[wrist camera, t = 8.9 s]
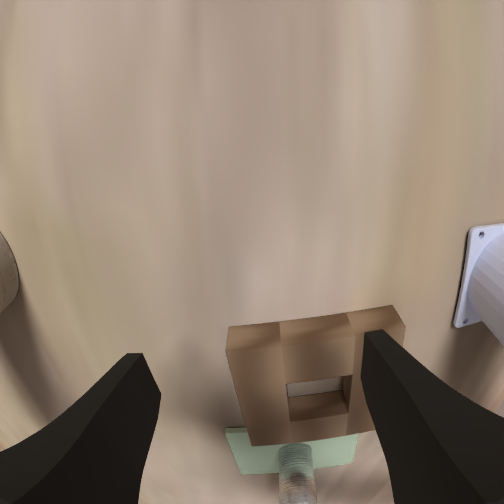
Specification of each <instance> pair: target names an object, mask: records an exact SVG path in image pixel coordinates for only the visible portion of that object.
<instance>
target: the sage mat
mask: <svg viewBox="0 0 504 504" xmlns="http://www.w3.org/2000/svg"><path fill="white" fill-rule="evenodd" d="M358 434H359V433H357V434H352V435H347V436H341V437H335V438H329V439H323V440H316V441H308V442H300V443H304V444H307V445H309V446H310V447H311V448H312V457H313V467H314V469H318V468H324V467H331V466H337V465H343V464H348V463H352V462H353V458H354V453H355V448H356V444H357V439H358ZM225 435H226V438H227V440H228V443H229V445H230V448H231V450H232V453H233V455H234V457H235V460H236V462H237V465H238V467H239V469H240V472H241V474H242V475H247V474H268V473H279V464H278V450H279V449H280V448H281V447H282V446H284V445H287V444H281V445H268V446H252V445H251V442H250V439H249V435H248V432H247V429H246V427H240V428H225Z"/></svg>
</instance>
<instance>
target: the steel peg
mask: <svg viewBox="0 0 504 504" xmlns="http://www.w3.org/2000/svg"><path fill="white" fill-rule="evenodd" d="M278 464H279V504H317V496H316V486H315V476H314V467H313V457H312V448H311V447H310V446H309V445H307V444H304V443H291V444H287V445H284V446H282V447H281V448H280V449H279V450H278Z"/></svg>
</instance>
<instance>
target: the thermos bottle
mask: <svg viewBox="0 0 504 504" xmlns="http://www.w3.org/2000/svg"><path fill="white" fill-rule="evenodd" d="M18 286H19V279H18V271H17V266H16V263H15V259H14V257H13V254H12V252H11V249H10V247H9V245H8V244H7V242H6V240H5V238H4V237H3V236H2V234H1V233H0V313H1V312H2V311H3V310H4V309H5V308H6V307H7V306H8V305H9V304H11V303H12V302H13V300H14V299H15V297H16V295H17V292H18Z"/></svg>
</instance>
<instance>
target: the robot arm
mask: <svg viewBox="0 0 504 504" xmlns="http://www.w3.org/2000/svg"><path fill="white" fill-rule="evenodd" d="M480 232H481V235H480V236H479V234H480ZM481 321H483V323H484V324H485V325H486V326H487V327H488V328H489V330H490V331H491V332H492V333H493V334H494V336H495V337H496V338H497V339H498V340H499V342H500V343H501V344H502V345H503V347H504V223H501V224H493V225H486V226H478V227H473V228H472V229H471V230H470V231H469V234H468V243H467V251H466V258H465V265H464V271H463V277H462V283H461V289H460V294H459V299H458V304H457V308H456V313H455V317H454V321H453V324H454V326H455V327H456V328H460V327H463V326H467V325H470V324H474V323H477V322H481ZM360 378H361V382H362V387H363V391H364V395H365V400H366V404H367V407H368V409H369V412H370V415H371V418H372V421H373V423H374V426H375V429H376V432H377V435H378V438H379V440H380V443H381V446H382V449H383V452H384V455H385V458H386V462H387V465H388V470H389V475H390V480H391V485H392V491H393V497H394V503H395V504H504V418H503V417H501V416H499V415H497V414H495V413H493V412H491V411H489V410H487V409H485V408H483V407H481V406H479V405H478V404H476V403H474V402H473V401H471V400H469V399H468V398H466V397H465V396H463V395H461V394H460V393H458V392H457V391H455V390H454V389H453V388H451V387H450V386H448V385H447V384H446V383H444V382H443V381H442V380H440V379H439V378H438V377H436V376H435V375H434V374H433V373H432V372H430V371H429V370H428V369H427V368H426V367H424V366H423V365H422V364H421V363H420V362H419V361H417V360H416V359H415V358H414V357H413V356H412V355H411V354H409V353H408V352H407V351H406V350H405V349H404V348H403V347H402V346H401V345H400V344H399V343H397V342H396V341H395V340H394V339H393V338H392V337H391V336H390V335H389V334H388V333H387V332H385V331H384V330H383V329H380V330H374V331H369V332H364V345H363V356H362V366H361V375H360ZM160 400H161V392H160V390H159V388H158V386H157V384H156V382H155V380H154V378H153V376H152V373H151V371H150V369H149V367H148V365H147V362H146V360H145V358H144V356H143V353H127V354H126V355H125V356H123V357H122V358H121V359H120V360H119V361H118V362H117V363H116V364H115V365H114V366H113V367H112V368H111V369H110V370H109V371H108V372H107V373H106V374H105V375H104V376H103V377H102V378H101V379H100V380H99V381H97V382H96V383H95V384H94V385H93V386H92V387H91V388H90V389H89V390H88V391H87V392H86V393H85V394H84V395H83V396H82V397H81V398H80V399H78V400H77V401H76V402H75V403H74V404H73V405H72V406H71V407H69V408H68V409H67V410H66V411H65V412H64V413H62V414H61V415H60V416H59V417H57V418H56V419H55V420H54V421H52V422H51V423H49V424H48V425H47V426H45V427H44V428H42V429H41V430H40V431H38V432H36V433H35V434H33V435H31V436H30V437H28V438H26V439H25V440H23V441H21V442H20V443H18V444H16V445H14V446H12V447H10V448H8V449H6V450H3V451H1V452H0V504H138V499H139V491H140V484H141V478H142V474H143V469H144V466H145V462H146V459H147V455H148V451H149V448H150V445H151V441H152V438H153V434H154V431H155V427H156V423H157V420H158V414H159V407H160Z"/></svg>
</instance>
